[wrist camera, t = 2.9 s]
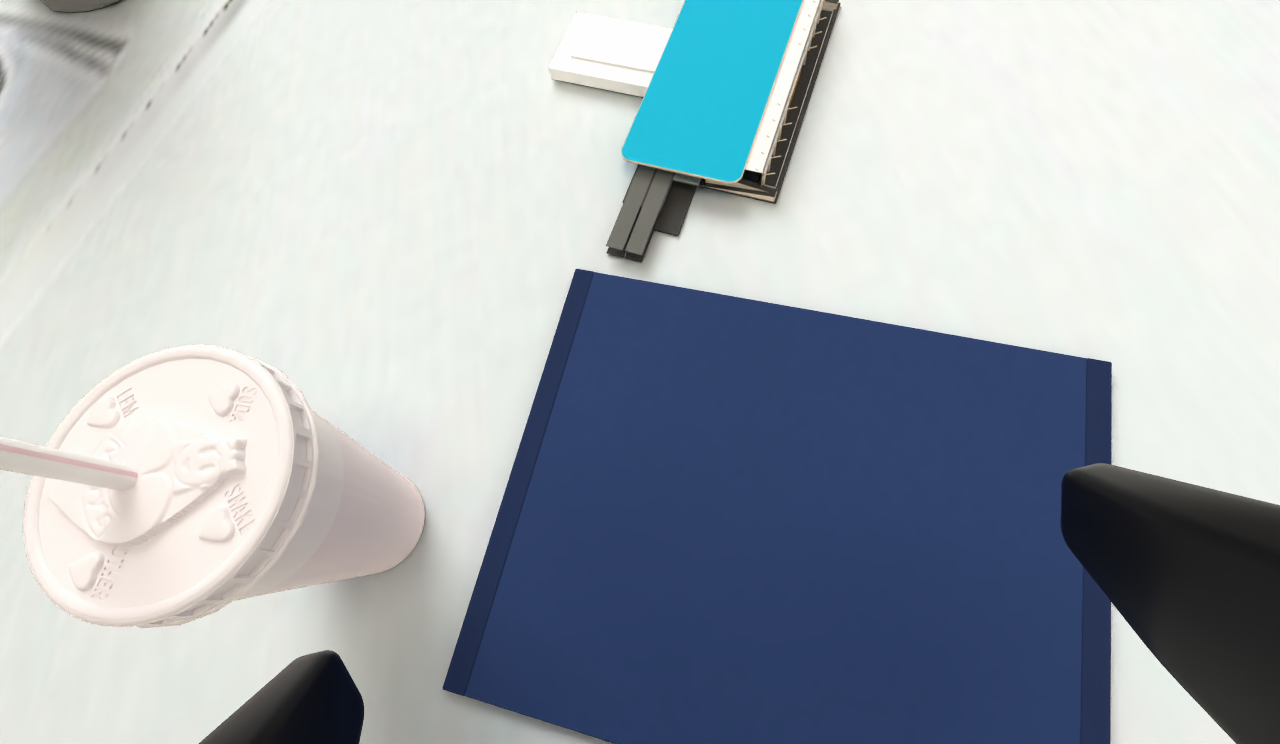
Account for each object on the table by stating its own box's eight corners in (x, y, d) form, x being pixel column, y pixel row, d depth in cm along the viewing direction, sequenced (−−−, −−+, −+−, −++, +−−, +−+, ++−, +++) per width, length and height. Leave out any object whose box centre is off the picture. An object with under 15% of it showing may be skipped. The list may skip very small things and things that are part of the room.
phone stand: (634, -88, 32) (630, -122, 31) (860, -58, 30) (868, -93, 28) (482, 222, 27) (468, 199, 25) (747, 290, 24) (750, 269, 23)
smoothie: (293, 457, 24) (-215, 290, 11) (452, 420, 24) (136, 205, 10) (293, 632, 21) (-355, 694, 8) (469, 593, 21) (91, 593, 8)
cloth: (1102, 895, 17) (1110, 901, 16) (445, 687, 20) (441, 689, 20) (1105, 365, 22) (1112, 362, 21) (577, 272, 25) (575, 268, 25)
